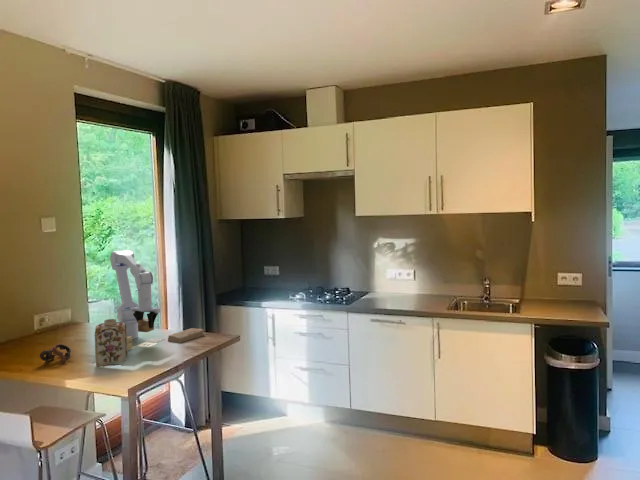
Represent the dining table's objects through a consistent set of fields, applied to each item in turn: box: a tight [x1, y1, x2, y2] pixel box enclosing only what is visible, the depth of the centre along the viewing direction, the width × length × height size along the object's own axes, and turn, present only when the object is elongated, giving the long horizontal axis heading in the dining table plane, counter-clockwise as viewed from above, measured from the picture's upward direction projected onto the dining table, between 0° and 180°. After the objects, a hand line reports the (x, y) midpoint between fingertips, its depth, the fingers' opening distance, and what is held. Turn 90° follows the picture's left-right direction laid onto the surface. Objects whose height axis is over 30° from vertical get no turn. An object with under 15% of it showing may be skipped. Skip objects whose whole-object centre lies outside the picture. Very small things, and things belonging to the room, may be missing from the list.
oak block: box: [127, 336, 134, 351], centre depth 232 cm, size 5×5×5 cm
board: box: [127, 341, 158, 352], centre depth 238 cm, size 14×24×1 cm, turn 162°
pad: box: [143, 337, 165, 344], centre depth 245 cm, size 7×7×1 cm
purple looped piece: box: [39, 343, 72, 364], centre depth 218 cm, size 12×10×8 cm
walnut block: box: [138, 317, 155, 333], centre depth 237 cm, size 5×5×5 cm
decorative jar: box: [94, 318, 128, 368], centre depth 217 cm, size 12×12×18 cm
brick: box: [167, 327, 205, 344], centre depth 249 cm, size 17×8×5 cm, turn 149°
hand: (146, 327), depth 237 cm, fingers closed on walnut block, 5 cm apart
